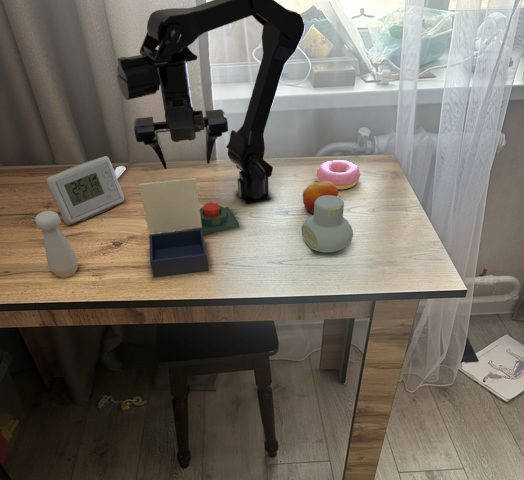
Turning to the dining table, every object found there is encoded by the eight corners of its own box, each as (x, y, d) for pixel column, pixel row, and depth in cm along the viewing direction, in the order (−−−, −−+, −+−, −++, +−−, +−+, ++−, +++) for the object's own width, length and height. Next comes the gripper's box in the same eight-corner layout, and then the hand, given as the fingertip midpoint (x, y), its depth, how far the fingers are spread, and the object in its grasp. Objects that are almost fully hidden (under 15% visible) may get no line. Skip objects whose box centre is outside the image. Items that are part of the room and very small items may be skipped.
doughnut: (320, 170, 133) (321, 154, 130) (362, 174, 130) (364, 158, 128) (311, 189, 125) (312, 173, 122) (356, 194, 123) (358, 178, 120)
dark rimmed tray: (208, 271, 102) (206, 254, 99) (153, 278, 100) (150, 261, 98) (204, 244, 109) (202, 228, 106) (152, 250, 108) (149, 234, 105)
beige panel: (195, 178, 99) (194, 170, 102) (138, 184, 97) (139, 176, 100) (201, 227, 106) (200, 218, 109) (148, 233, 104) (148, 224, 107)
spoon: (132, 168, 136) (131, 166, 136) (107, 200, 124) (107, 198, 123) (113, 167, 137) (112, 165, 137) (87, 199, 124) (86, 197, 124)
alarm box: (228, 211, 119) (227, 199, 117) (239, 228, 113) (238, 216, 111) (187, 219, 116) (185, 208, 114) (196, 237, 111) (194, 225, 109)
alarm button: (217, 208, 115) (216, 201, 113) (222, 215, 112) (221, 208, 111) (202, 211, 114) (201, 204, 113) (206, 218, 111) (205, 211, 110)
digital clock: (65, 229, 115) (51, 186, 107) (52, 211, 120) (38, 169, 112) (131, 208, 121) (123, 166, 113) (116, 192, 126) (107, 151, 118)
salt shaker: (55, 264, 105) (33, 207, 96) (82, 262, 105) (64, 205, 96) (49, 281, 101) (26, 223, 91) (78, 279, 101) (58, 221, 92)
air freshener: (297, 237, 110) (298, 194, 103) (330, 227, 112) (333, 185, 105) (321, 262, 103) (324, 219, 96) (356, 252, 105) (361, 209, 98)
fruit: (319, 219, 112) (310, 183, 110) (302, 222, 119) (294, 188, 117) (349, 210, 115) (341, 174, 112) (331, 213, 122) (323, 180, 120)
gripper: (127, 108, 92) (144, 188, 103) (228, 97, 94) (235, 177, 105) (127, 88, 100) (143, 164, 111) (220, 78, 102) (227, 154, 113)
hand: (187, 165), depth 109 cm, fingers open, 9 cm apart
